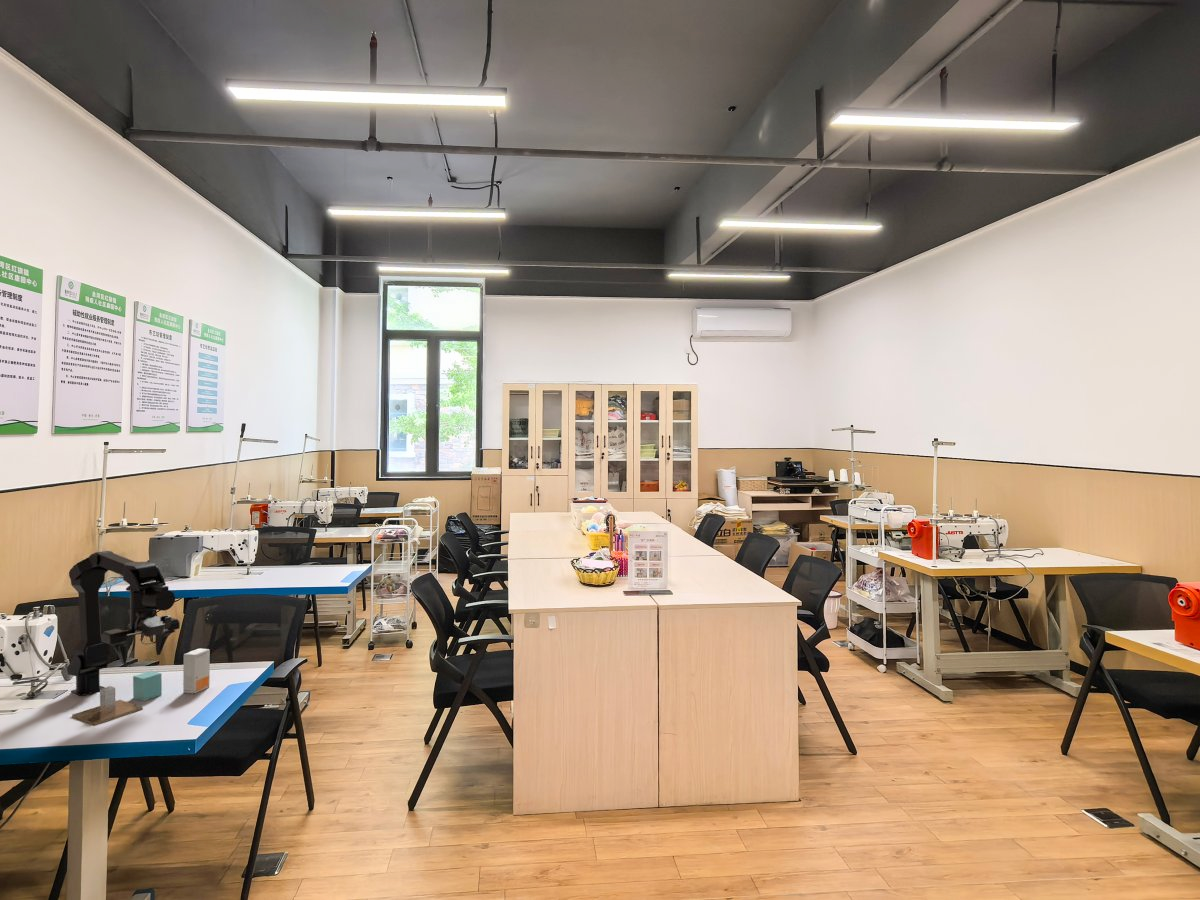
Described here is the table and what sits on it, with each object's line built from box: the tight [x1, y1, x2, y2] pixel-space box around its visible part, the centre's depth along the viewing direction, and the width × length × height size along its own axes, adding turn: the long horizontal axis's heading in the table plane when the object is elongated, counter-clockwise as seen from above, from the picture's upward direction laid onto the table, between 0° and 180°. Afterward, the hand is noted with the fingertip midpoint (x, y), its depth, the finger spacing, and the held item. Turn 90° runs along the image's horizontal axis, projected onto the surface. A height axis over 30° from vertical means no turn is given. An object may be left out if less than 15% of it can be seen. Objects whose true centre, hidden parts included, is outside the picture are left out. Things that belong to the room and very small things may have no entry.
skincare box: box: [182, 647, 211, 694], centre depth 201 cm, size 6×4×12 cm
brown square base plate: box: [71, 685, 144, 726], centre depth 184 cm, size 12×12×7 cm
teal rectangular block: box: [132, 670, 163, 702], centre depth 196 cm, size 5×5×7 cm
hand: (141, 659), depth 191 cm, fingers open, 9 cm apart
